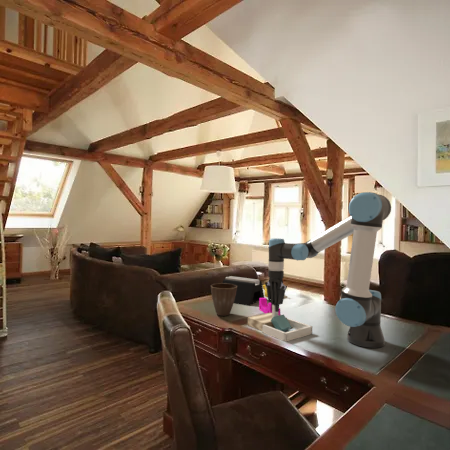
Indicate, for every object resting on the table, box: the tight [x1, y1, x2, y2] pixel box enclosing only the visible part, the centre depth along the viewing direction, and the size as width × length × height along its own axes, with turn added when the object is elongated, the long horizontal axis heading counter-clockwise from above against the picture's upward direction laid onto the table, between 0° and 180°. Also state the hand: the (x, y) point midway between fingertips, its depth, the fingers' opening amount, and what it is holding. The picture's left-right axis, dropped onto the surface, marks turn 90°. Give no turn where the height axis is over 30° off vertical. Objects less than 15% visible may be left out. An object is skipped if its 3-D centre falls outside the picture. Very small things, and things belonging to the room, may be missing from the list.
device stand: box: [222, 275, 265, 307], centre depth 216 cm, size 22×22×15 cm
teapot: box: [262, 284, 268, 298], centre depth 225 cm, size 14×13×10 cm
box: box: [261, 318, 313, 343], centre depth 154 cm, size 15×18×4 cm
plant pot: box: [210, 282, 237, 317], centre depth 184 cm, size 15×15×16 cm
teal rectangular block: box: [271, 314, 292, 332], centre depth 157 cm, size 7×7×3 cm
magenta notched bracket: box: [258, 297, 281, 315], centre depth 187 cm, size 15×6×8 cm, turn 17°
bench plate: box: [247, 313, 288, 332], centre depth 164 cm, size 12×16×4 cm
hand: (275, 317), depth 160 cm, fingers closed
